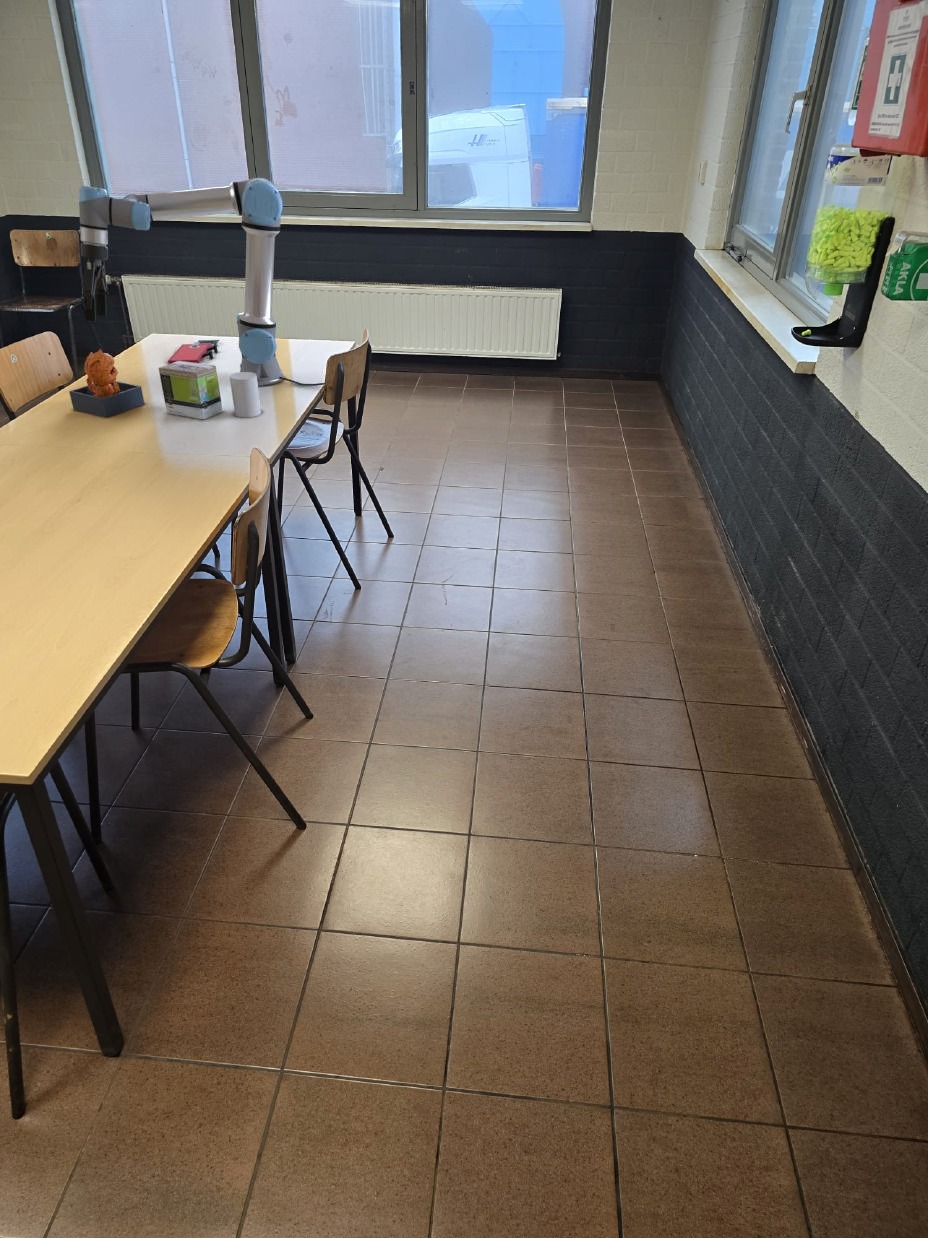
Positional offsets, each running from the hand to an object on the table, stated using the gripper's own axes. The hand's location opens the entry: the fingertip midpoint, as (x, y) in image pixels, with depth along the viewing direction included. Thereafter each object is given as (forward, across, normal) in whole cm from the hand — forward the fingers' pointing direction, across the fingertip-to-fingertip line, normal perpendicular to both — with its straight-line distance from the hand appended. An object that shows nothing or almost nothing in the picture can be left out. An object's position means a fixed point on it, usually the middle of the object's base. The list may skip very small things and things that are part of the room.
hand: (96, 317), depth 260 cm
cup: (+21, +12, +48) cm, 54 cm away
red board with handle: (+17, -62, +22) cm, 68 cm away
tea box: (+24, +9, +31) cm, 40 cm away
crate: (+27, +1, +4) cm, 27 cm away
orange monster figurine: (+27, +1, +4) cm, 27 cm away
